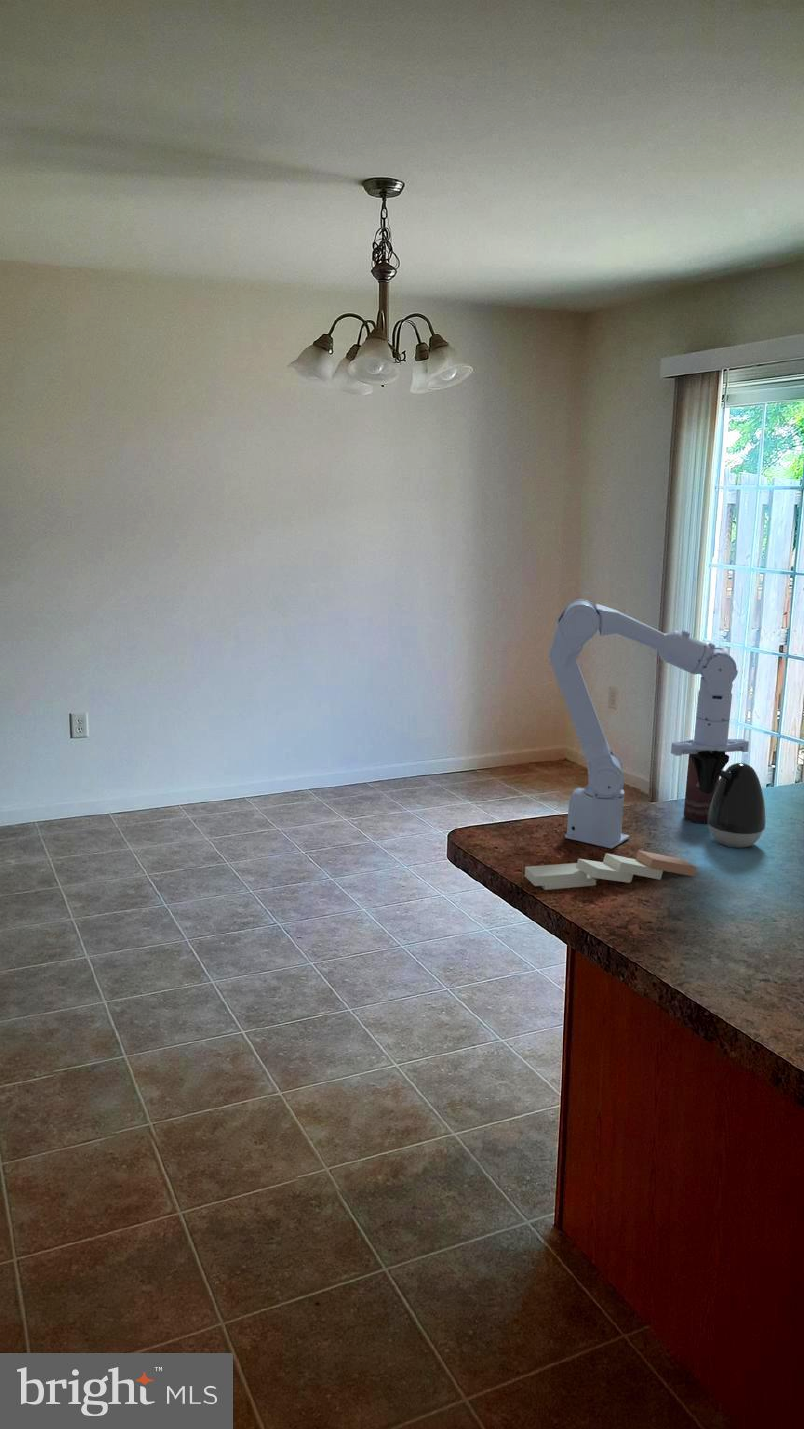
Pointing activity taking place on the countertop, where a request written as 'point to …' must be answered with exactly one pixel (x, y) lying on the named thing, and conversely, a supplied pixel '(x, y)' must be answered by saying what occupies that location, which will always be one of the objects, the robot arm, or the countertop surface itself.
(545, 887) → the domino
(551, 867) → the domino
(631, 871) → the domino
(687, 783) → the can
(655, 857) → the end domino
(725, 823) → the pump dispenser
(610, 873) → the domino
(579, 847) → the countertop surface
